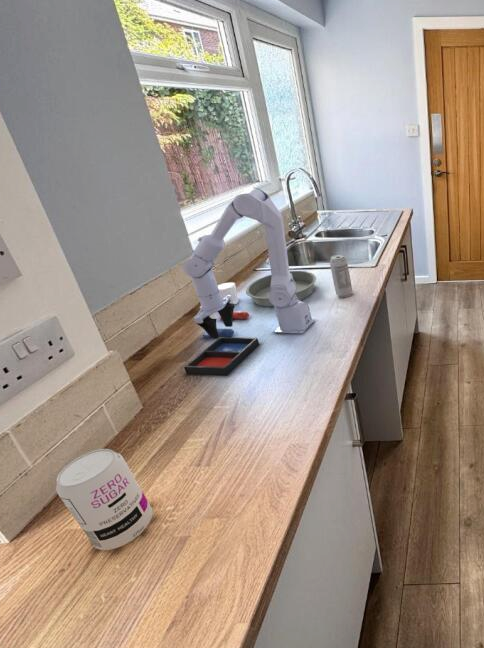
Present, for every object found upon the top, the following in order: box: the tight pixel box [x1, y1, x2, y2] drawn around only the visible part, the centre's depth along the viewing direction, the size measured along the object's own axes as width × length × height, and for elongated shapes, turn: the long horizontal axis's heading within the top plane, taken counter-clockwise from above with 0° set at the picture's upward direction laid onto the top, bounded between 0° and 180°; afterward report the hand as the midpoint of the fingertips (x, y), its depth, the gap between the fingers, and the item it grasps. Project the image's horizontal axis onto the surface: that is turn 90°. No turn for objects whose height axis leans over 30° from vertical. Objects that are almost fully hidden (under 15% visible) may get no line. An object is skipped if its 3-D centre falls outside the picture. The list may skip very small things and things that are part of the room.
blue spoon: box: [202, 328, 235, 339], centre depth 126 cm, size 9×3×2 cm, turn 83°
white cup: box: [217, 281, 239, 306], centre depth 147 cm, size 7×7×7 cm
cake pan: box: [245, 270, 317, 307], centre depth 152 cm, size 25×25×4 cm
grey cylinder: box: [329, 253, 353, 298], centre depth 147 cm, size 6×6×15 cm
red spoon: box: [219, 311, 250, 322], centre depth 137 cm, size 9×3×2 cm, turn 83°
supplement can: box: [55, 448, 154, 551], centre depth 66 cm, size 8×8×15 cm
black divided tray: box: [183, 336, 260, 377], centre depth 114 cm, size 12×15×2 cm
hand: (222, 331), depth 126 cm, fingers open, 6 cm apart
